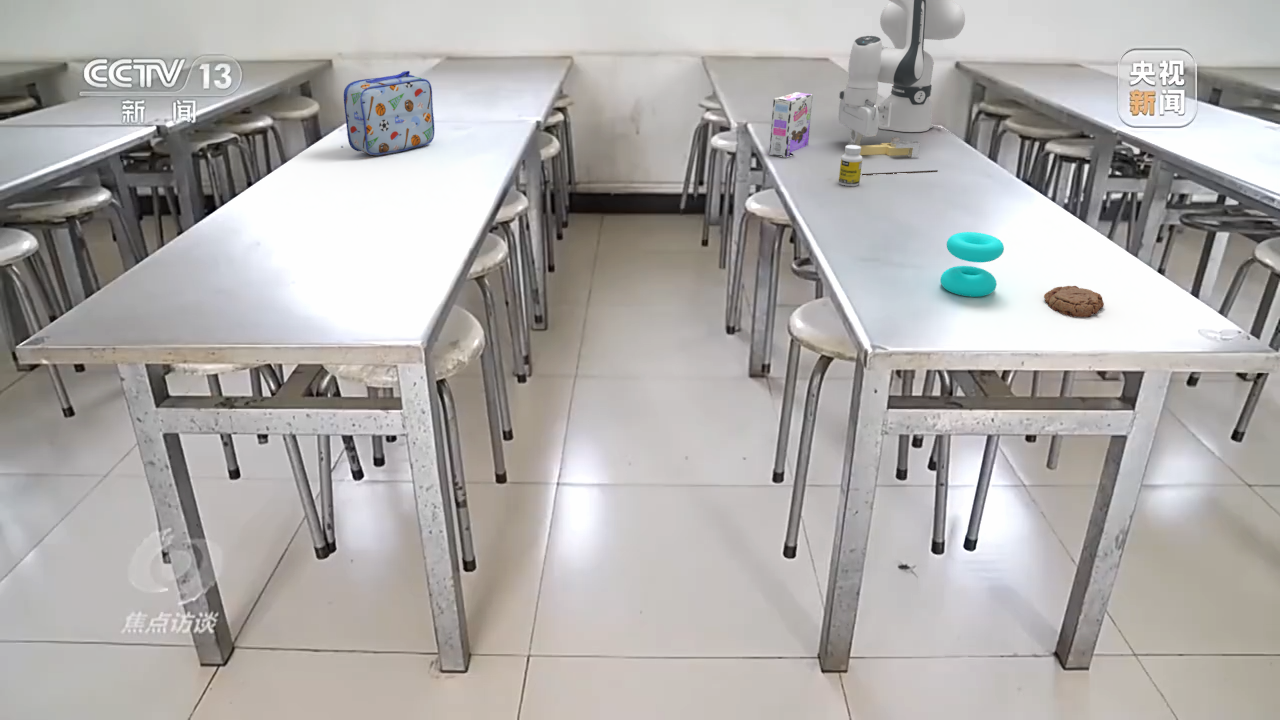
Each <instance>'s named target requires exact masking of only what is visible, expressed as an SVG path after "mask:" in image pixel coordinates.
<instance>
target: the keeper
mask: <svg viewBox="0 0 1280 720" xmlns="http://www.w3.org/2000/svg"><path fill="white" fill-rule="evenodd" d="M890 143H891V146H892V147H894V148H909V152H908V155H907V157H908V158H910V159H918V158H919V154H920V153H919V152H920V146H921V143H920V142H919V141H917V140H904V141H903V140H900V141H899V142H891V141H890Z"/></svg>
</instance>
